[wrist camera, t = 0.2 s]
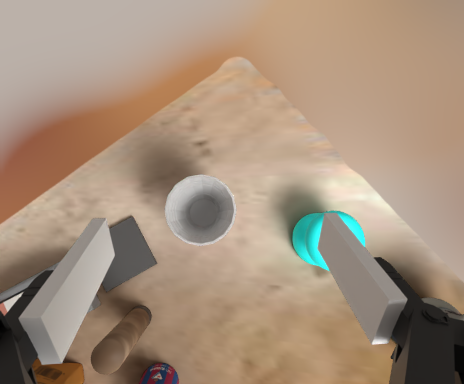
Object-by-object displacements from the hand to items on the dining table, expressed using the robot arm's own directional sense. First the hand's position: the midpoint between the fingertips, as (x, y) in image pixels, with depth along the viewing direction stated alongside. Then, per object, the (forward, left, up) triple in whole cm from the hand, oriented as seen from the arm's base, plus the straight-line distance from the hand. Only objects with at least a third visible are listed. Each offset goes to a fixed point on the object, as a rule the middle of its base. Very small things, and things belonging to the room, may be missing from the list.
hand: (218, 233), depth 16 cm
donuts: (-11, -17, -35) cm, 41 cm away
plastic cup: (+4, 0, -35) cm, 36 cm away
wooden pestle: (-7, +19, -35) cm, 41 cm away
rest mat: (+5, +17, -35) cm, 40 cm away
